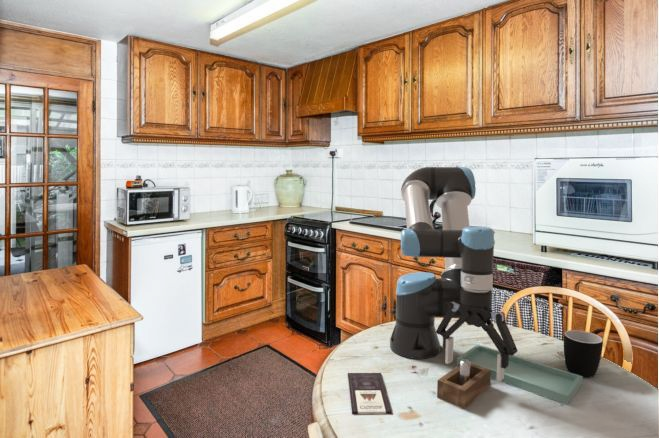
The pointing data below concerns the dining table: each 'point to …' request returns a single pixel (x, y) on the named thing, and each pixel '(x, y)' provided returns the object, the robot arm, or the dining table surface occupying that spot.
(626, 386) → the dining table surface
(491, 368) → the tray
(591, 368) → the mug
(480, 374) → the wooden rectangular frame
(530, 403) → the dining table surface
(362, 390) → the chocolate bar
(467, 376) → the silver cylindrical piece
